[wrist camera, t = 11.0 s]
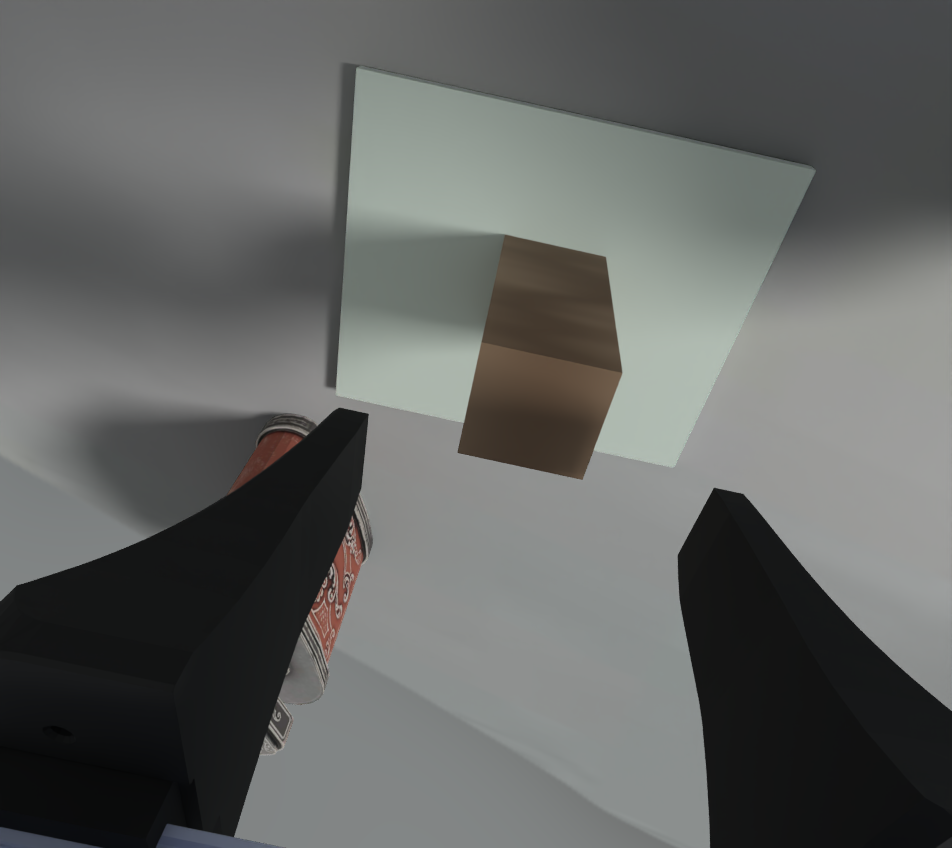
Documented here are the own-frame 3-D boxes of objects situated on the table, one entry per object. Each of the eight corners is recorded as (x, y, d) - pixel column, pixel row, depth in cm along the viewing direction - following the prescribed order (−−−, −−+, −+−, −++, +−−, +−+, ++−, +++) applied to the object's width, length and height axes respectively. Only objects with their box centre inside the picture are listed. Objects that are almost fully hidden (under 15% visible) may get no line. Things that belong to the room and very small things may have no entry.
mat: (810, 166, 18) (816, 170, 18) (671, 459, 25) (673, 468, 24) (361, 65, 18) (356, 67, 18) (339, 388, 25) (335, 395, 24)
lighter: (245, 420, 26) (102, 626, 18) (321, 408, 25) (207, 617, 17) (320, 558, 30) (232, 774, 22) (387, 551, 30) (321, 773, 21)
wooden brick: (606, 256, 20) (622, 372, 14) (577, 345, 22) (582, 479, 16) (504, 234, 20) (481, 341, 14) (485, 325, 22) (457, 452, 16)
